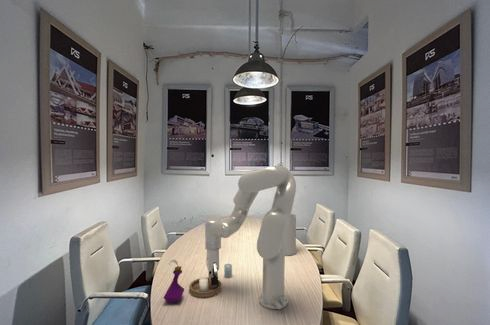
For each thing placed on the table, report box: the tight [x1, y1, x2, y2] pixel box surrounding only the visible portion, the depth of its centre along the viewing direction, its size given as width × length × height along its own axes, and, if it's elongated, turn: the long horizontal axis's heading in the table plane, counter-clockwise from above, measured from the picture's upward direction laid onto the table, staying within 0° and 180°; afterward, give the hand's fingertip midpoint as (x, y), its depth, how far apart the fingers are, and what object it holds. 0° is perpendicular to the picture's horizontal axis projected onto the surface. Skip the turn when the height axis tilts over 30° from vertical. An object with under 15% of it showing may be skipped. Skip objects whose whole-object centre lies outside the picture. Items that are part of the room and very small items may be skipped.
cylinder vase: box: [283, 213, 297, 257], centre depth 171 cm, size 12×12×25 cm
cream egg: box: [198, 276, 208, 292], centre depth 119 cm, size 4×4×6 cm
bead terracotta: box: [208, 273, 218, 289], centre depth 124 cm, size 4×4×6 cm
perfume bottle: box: [163, 258, 185, 304], centre depth 114 cm, size 8×8×18 cm
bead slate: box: [223, 263, 233, 279], centre depth 137 cm, size 4×4×6 cm
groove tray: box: [188, 276, 222, 299], centre depth 123 cm, size 15×15×2 cm
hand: (213, 280), depth 124 cm, fingers open, 7 cm apart
